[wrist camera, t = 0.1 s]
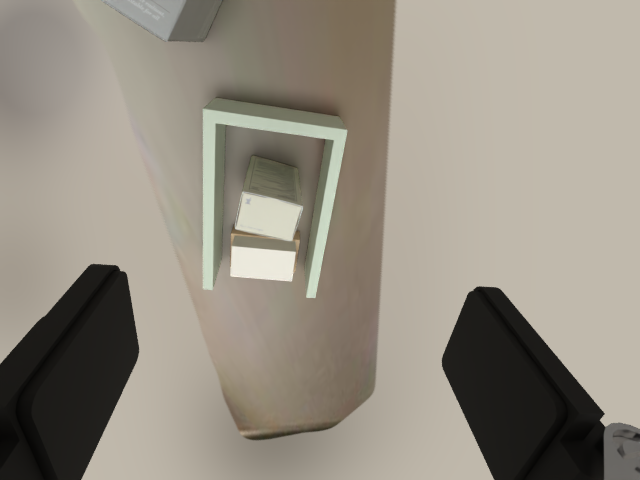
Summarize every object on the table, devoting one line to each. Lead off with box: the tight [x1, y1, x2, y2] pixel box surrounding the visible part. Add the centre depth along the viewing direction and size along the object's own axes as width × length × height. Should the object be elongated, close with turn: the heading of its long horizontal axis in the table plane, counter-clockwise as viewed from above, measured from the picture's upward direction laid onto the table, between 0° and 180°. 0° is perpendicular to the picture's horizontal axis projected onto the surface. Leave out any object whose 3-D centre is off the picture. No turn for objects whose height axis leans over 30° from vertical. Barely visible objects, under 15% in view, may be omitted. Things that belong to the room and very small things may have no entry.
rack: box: [203, 98, 347, 298], centre depth 44 cm, size 22×14×7 cm, turn 171°
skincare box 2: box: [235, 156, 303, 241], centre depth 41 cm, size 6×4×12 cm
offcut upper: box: [231, 235, 296, 281], centre depth 47 cm, size 5×8×3 cm, turn 81°
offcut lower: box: [230, 224, 300, 272], centre depth 50 cm, size 5×9×3 cm, turn 81°
